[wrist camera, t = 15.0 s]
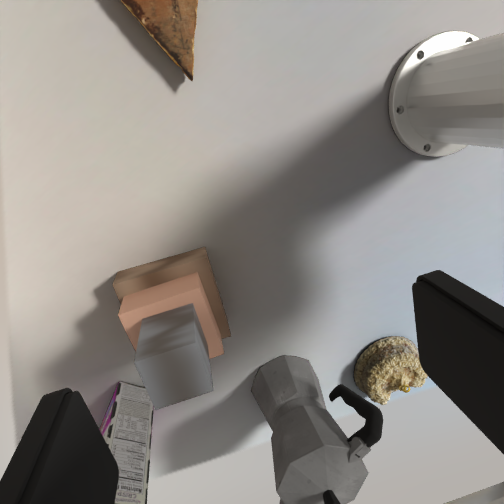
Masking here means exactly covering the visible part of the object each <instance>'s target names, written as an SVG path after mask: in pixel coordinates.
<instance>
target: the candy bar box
mask: <svg viewBox="0 0 504 504" xmlns="http://www.w3.org/2000/svg"><path fill="white" fill-rule="evenodd" d="M153 409H154V406H153V403H152V401H151V399H150V397H149V395H148V392H147V390H146V388H145V387H140V386H136V385H132V384H128V383H124V382H118V385H117V387H116V390H115V392H114V395H113V397H112V399H111V402H110V404H109V407H108V409H107V412H106V414H105V417H104V419H103V422H102V424H101V427H100V429H99V430H100V432H101V434H102V436H103V437H104V439H105V441H106V443H107V445H108V447H109V449H110V451H111V453H112V454H113V456H114V458H115V460H116V462H117V464H118V469H119V480H118V486H117V492H116V498H115V504H147V489H148V479H149V464H150V447H151V435H152V421H153Z"/></svg>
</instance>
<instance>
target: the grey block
mask: <svg viewBox="0 0 504 504" xmlns="http://www.w3.org/2000/svg"><path fill="white" fill-rule="evenodd" d="M134 364H135V366H136V368H137V370H138V372H139V375H140V377H141V379H142V381H143V384H144V386H145V388H146V390H147V392H148V395H149V397H150V399H151V401H152V403H153V406H154V408H155V410H157V409H160V408H163V407H166V406H169V405H172V404H175V403H178V402H181V401H184V400H187V399H190V398H193V397H196V396H199V395H202V394H205V393H208V392H211V391H213V384H212V375H211V367H210V359H209V351H208V344H207V341H206V338H205V336H204V333H203V330H202V327H201V324H200V321H199V319H198V316H197V313H196V310H195V307H194V305H193V303H191V304H188V305H184V306H181V307H178V308H175V309H172V310H168V311H165V312H162V313H159V314H156V315H152V316H149V317H146V318H143V319H142V323H141V328H140V334H139V339H138V344H137V349H136V354H135V360H134Z"/></svg>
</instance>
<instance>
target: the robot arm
mask: <svg viewBox="0 0 504 504" xmlns="http://www.w3.org/2000/svg"><path fill="white" fill-rule="evenodd" d="M416 55H417V56H416ZM397 109H398V110H397ZM396 110H397V111H396ZM389 116H390V120H391V124H392V127H393V129H394V131H395V133H396V135H397V137H398V138H399V139H400V141H401V142H402V143H403V144H404V145H405V146H406V147H407V148H408V149H410V150H412V151H414V152H416V153H417V154H421V155H425V156H433V157H439V156H447V155H450V154H454V153H456V152H458V151H460V150H462V149H464V148H465V147H466V146H468V145H472V146H483V147H494V148H504V33H501V34H497V35H494V36H490V37H486V38H482V39H479V38H478V37H476V36H475V35H473V34H470V33H467V32H465V31H447V32H442V33H439V34H436V35H433V36H431V37H429V38H427V39H425V40H423V41H422V42H420V43H419V44H418V45H417V46H415V47H414V48H413V49H412V50H411V51H410V52H409V53H408V54H407V56H406V57H405V58H404V60H403V61H402V63H401V64H400V66H399V67H398V69H397V72H396V74H395V76H394V78H393V81H392V85H391V89H390V95H389ZM412 292H413V302H414V312H415V322H416V332H417V342H418V352H419V361H420V364H421V367H422V369H423V370H424V372H425V373H426V374H427V375H428V376H429V377H430V378H431V380H432V381H433V382H434V383H435V384H436V385H437V386H438V387H439V388H440V389H441V390H442V391H443V392H444V393H445V394H446V395H447V396H448V397H449V398H450V399H451V400H452V401H453V402H454V403H455V404H456V405H457V406H458V407H459V409H460V410H462V411H463V413H464V414H465V415H466V416H467V417H468V418H469V419H470V420H471V421H472V422H473V423H474V424H475V425H476V426H477V427H478V428H479V429H480V430H481V431H482V432H483V433H484V434H485V436H486V437H487V438H488V439H489V440H490V441H491V442H492V443H493V444H494V445H495V446H496V447H497V448H498V449H499V450H500V451H501V452H502V453H503V454H504V307H503V306H501V305H499V304H498V303H496V302H494V301H493V300H491V299H489V298H487V297H486V296H484V295H482V294H480V293H479V292H477V291H475V290H474V289H472V288H470V287H468V286H467V285H465V284H463V283H461V282H460V281H458V280H456V279H455V278H453V277H451V276H449V275H448V274H446V273H444V272H443V271H440V270H436V271H433V272H430V273H427V274H424V275H420V276H418V277H417V280H416V283H414V284H413V286H412ZM118 480H119V469H118V464H117V462H116V460H115V458H114V456H113V454H112V453H111V451H110V449H109V447H108V445H107V443H106V441H105V439H104V437H103V436H102V434H101V432H100V430H99V428H98V426H97V424H96V422H95V420H94V419H93V417H92V415H91V413H90V411H89V409H88V407H87V405H86V404H85V402H84V400H83V398H82V396H81V394H80V393H79V392H78V391H74V392H73V391H72V390H71V389H69V388H65V389H62V390H59V391H55V392H52V393H49V394H46V395H44V396H43V397H42V399H41V400H40V402H39V404H38V406H37V408H36V410H35V412H34V414H33V416H32V418H31V420H30V422H29V424H28V426H27V428H26V430H25V432H24V435H23V437H22V439H21V441H20V443H19V445H18V447H17V449H16V451H15V453H14V455H13V457H12V459H11V461H10V463H9V465H8V467H7V469H6V471H5V473H4V475H3V477H2V479H1V481H0V504H115V498H116V492H117V486H118ZM444 504H504V482H502V483H500V484H497V485H494V486H491V487H488V488H486V489H483V490H480V491H478V492H475V493H472V494H469V495H466V496H464V497H461V498H458V499H456V500H453V501H450V502H447V503H444Z"/></svg>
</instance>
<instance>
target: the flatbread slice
mask: <svg viewBox="0 0 504 504" xmlns="http://www.w3.org/2000/svg"><path fill="white" fill-rule="evenodd" d="M121 1H122V3H123V4H124V5H125V6H126V7H127V9H128V10H129V11H130V12H131V13H132V14H133V15H134V16H135V17H136V18H137V19H138V20H139V21H140V23H141V24H142V25H143V27H144V28H145V29H146V30H147V31H148V33H149V34H150V36H151V37H153V38H154V40H155V41H156V42H157V43H158V45H159V46H160V47H161V48H162V49H163V50H164V51H165V52H166V53H167V55H168V56H169V57H170V58H171V59H172V60H173V61H174V62H175V63H176V65H178V66H179V67H180V68H181V69H182V71H183V73H184V74H185V75H186V76H187V77H188V78H189V79H190V80H191V81H193V67H194V52H193V49H194V34H195V28H196V18H197V5H198V0H121Z"/></svg>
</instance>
